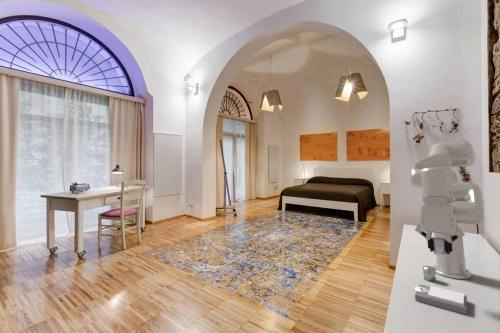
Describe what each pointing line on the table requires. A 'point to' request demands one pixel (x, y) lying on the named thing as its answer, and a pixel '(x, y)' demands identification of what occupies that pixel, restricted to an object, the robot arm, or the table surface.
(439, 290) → the scale
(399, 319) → the table surface
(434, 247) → the cylinder
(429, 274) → the cylinder
